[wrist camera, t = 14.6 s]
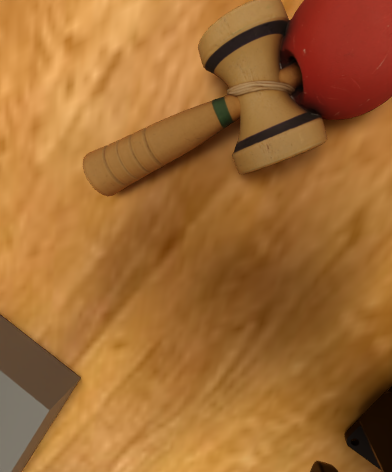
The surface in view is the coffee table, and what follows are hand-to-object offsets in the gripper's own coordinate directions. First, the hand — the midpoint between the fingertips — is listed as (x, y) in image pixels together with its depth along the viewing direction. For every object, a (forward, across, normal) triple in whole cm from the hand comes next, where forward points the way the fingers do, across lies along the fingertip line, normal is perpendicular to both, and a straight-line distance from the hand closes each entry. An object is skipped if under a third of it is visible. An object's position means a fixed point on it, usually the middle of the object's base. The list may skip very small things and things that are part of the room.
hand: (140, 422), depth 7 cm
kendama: (+14, 0, -9) cm, 16 cm away
